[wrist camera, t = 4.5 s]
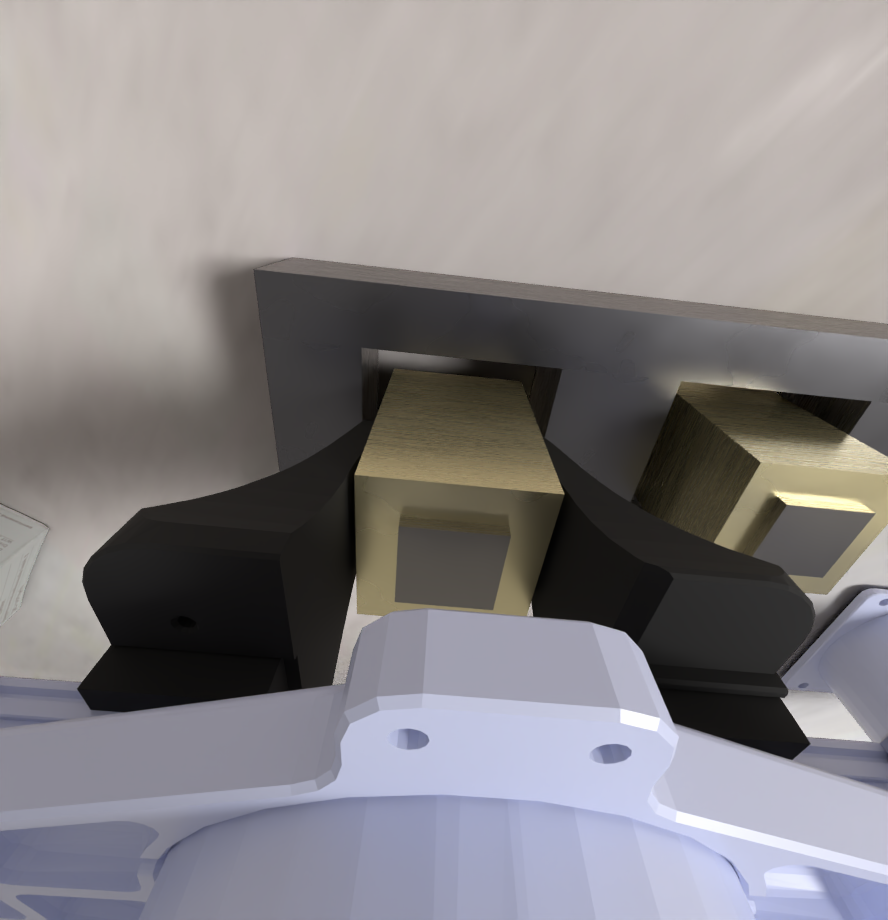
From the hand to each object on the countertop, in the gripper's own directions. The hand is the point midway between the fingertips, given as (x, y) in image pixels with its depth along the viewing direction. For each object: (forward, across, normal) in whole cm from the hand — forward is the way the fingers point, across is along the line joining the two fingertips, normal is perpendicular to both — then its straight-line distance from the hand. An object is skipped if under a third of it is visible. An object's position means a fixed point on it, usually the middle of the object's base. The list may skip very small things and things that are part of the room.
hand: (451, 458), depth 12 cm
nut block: (+2, 0, 0) cm, 2 cm away
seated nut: (+4, -9, 0) cm, 10 cm away
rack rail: (+4, -4, 0) cm, 6 cm away
